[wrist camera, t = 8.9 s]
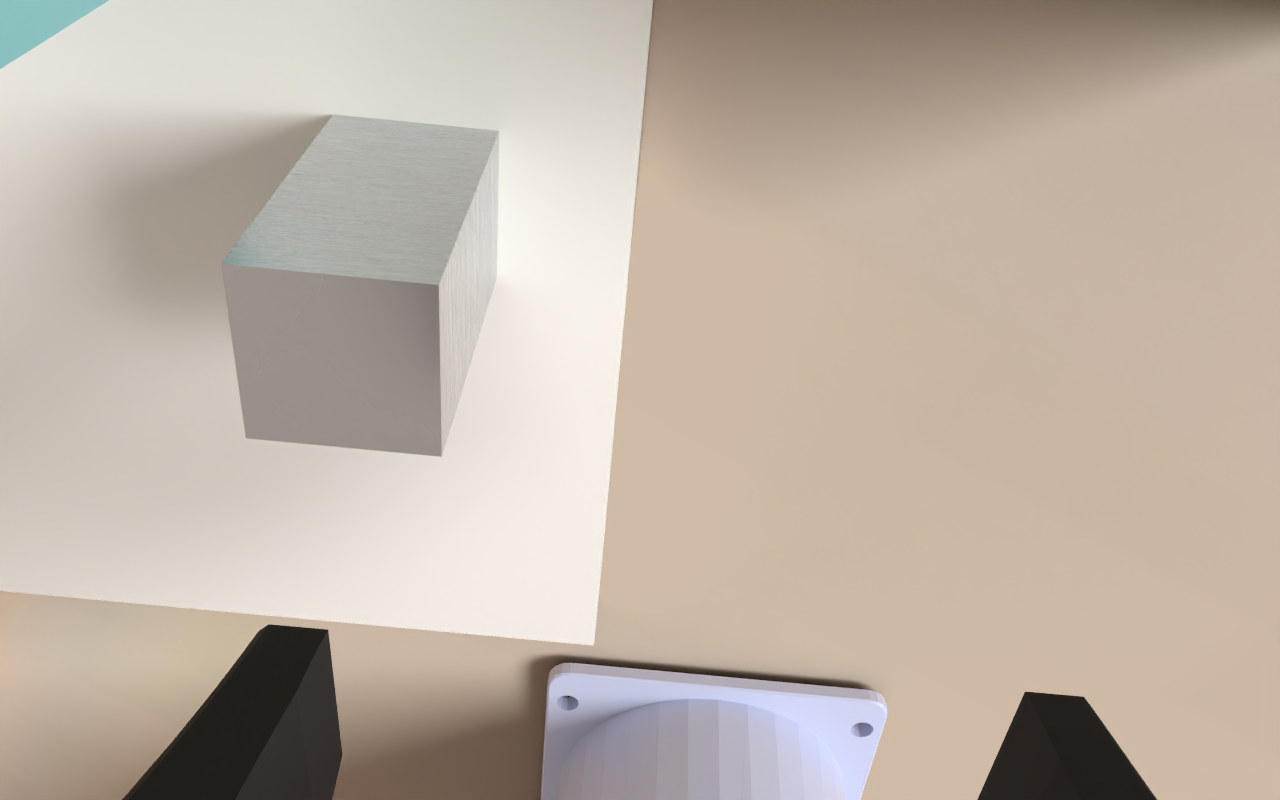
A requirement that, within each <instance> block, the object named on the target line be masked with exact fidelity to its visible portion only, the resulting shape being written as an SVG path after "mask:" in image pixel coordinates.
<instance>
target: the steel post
mask: <svg viewBox="0 0 1280 800" xmlns="http://www.w3.org/2000/svg"><path fill="white" fill-rule="evenodd" d="M498 180H499V131H496V130H486V129H475V128H465V127H455V126H445V125H435V124H425V123H415V122H404V121H394V120H384V119H374V118H364V117H354V116H344V115H332V117H331V118H330V119H329V121H328V122H327V123H326V125H325V126H324V127H323V129H322V130H321V131H320V133H319V134H318V135H317V137H316V138H315V139H314V141H313V142H312V143H311V145H310V146H309V147H308V149H307V150H306V151H305V153H304V154H303V155H302V157H301V158H300V159H299V161H298V162H297V163H296V165H295V166H294V167H293V169H292V170H291V171H290V173H289V174H288V175H287V177H286V178H285V179H284V181H283V182H282V183H281V185H280V186H279V187H278V189H277V190H276V191H275V193H274V194H273V195H272V197H271V198H270V199H269V201H268V202H267V203H266V205H265V206H264V207H263V209H262V210H261V211H260V213H259V214H258V215H257V217H256V218H255V219H254V221H253V222H252V223H251V225H250V226H249V227H248V229H247V230H246V231H245V233H244V234H243V235H242V237H241V238H240V239H239V241H238V242H237V243H236V245H235V246H234V247H233V249H232V250H231V251H230V253H229V254H228V255H227V257H226V258H225V259H224V261H223V262H222V263H221V267H222V274H223V281H224V288H225V295H226V302H227V309H228V316H229V323H230V330H231V337H232V345H233V352H234V359H235V366H236V373H237V380H238V387H239V394H240V401H241V408H242V415H243V422H244V429H245V436H246V438H248V439H258V440H269V441H280V442H290V443H301V444H311V445H322V446H333V447H343V448H354V449H365V450H375V451H386V452H397V453H407V454H418V455H429V456H439V457H442V455H443V451H444V448H445V445H446V442H447V438H448V435H449V432H450V429H451V425H452V422H453V419H454V416H455V412H456V409H457V406H458V403H459V399H460V396H461V393H462V390H463V386H464V383H465V380H466V377H467V373H468V370H469V367H470V364H471V360H472V357H473V354H474V350H475V347H476V344H477V341H478V337H479V334H480V331H481V328H482V324H483V321H484V318H485V315H486V311H487V308H488V305H489V302H490V298H491V295H492V292H493V289H494V285H495V282H496V279H497V243H498Z"/></svg>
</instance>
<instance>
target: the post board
mask: <svg viewBox="0 0 1280 800" xmlns="http://www.w3.org/2000/svg"><path fill="white" fill-rule="evenodd" d="M652 8H653V0H109V1H107V2H106V3H104V4H103V5H101V6H100V7H98V8H96V9H95V10H93V11H92V12H90V13H88V14H87V15H85V16H84V17H82V18H81V19H79V20H77V21H76V22H74V23H73V24H71V25H69V26H68V27H66V28H65V29H63V30H62V31H60V32H58V33H57V34H55V35H54V36H52V37H50V38H49V39H47V40H46V41H44V42H42V43H41V44H39V45H38V46H36V47H35V48H33V49H31V50H30V51H28V52H27V53H25V54H23V55H22V56H20V57H19V58H17V59H16V60H14V61H12V62H11V63H9V64H8V65H6V66H4V67H3V68H1V69H0V591H6V592H17V593H27V594H38V595H49V596H60V597H71V598H82V599H93V600H104V601H115V602H126V603H137V604H148V605H159V606H170V607H180V608H191V609H202V610H213V611H224V612H235V613H246V614H257V615H268V616H279V617H290V618H301V619H312V620H322V621H333V622H344V623H355V624H366V625H377V626H388V627H399V628H410V629H421V630H432V631H443V632H454V633H464V634H475V635H486V636H497V637H508V638H519V639H530V640H541V641H552V642H563V643H574V644H585V645H594V638H595V628H596V618H597V608H598V598H599V587H600V577H601V566H602V555H603V544H604V533H605V522H606V511H607V500H608V489H609V478H610V467H611V456H612V445H613V434H614V423H615V412H616V401H617V391H618V380H619V369H620V358H621V347H622V336H623V325H624V314H625V303H626V292H627V281H628V270H629V259H630V248H631V237H632V226H633V216H634V205H635V194H636V183H637V172H638V161H639V150H640V139H641V128H642V117H643V106H644V95H645V84H646V73H647V62H648V51H649V40H650V30H651V19H652ZM332 115H344V116H354V117H364V118H374V119H384V120H394V121H404V122H415V123H425V124H435V125H445V126H455V127H465V128H475V129H486V130H496V131H499V180H498V243H497V279H496V282H495V285H494V289H493V292H492V295H491V298H490V302H489V305H488V308H487V311H486V315H485V318H484V321H483V324H482V328H481V331H480V334H479V337H478V341H477V344H476V347H475V350H474V354H473V357H472V360H471V364H470V367H469V370H468V373H467V377H466V380H465V383H464V386H463V390H462V393H461V396H460V399H459V403H458V406H457V409H456V412H455V416H454V419H453V422H452V425H451V429H450V432H449V435H448V438H447V442H446V445H445V448H444V451H443V455H442V457H439V456H429V455H418V454H407V453H397V452H386V451H375V450H365V449H354V448H343V447H333V446H322V445H311V444H301V443H290V442H280V441H269V440H258V439H248V438H246V436H245V429H244V422H243V415H242V408H241V401H240V394H239V387H238V380H237V373H236V366H235V359H234V352H233V345H232V337H231V330H230V323H229V316H228V309H227V302H226V295H225V288H224V281H223V274H222V267H221V263H222V262H223V261H224V259H225V258H226V257H227V255H228V254H229V253H230V251H231V250H232V249H233V247H234V246H235V245H236V243H237V242H238V241H239V239H240V238H241V237H242V235H243V234H244V233H245V231H246V230H247V229H248V227H249V226H250V225H251V223H252V222H253V221H254V219H255V218H256V217H257V215H258V214H259V213H260V211H261V210H262V209H263V207H264V206H265V205H266V203H267V202H268V201H269V199H270V198H271V197H272V195H273V194H274V193H275V191H276V190H277V189H278V187H279V186H280V185H281V183H282V182H283V181H284V179H285V178H286V177H287V175H288V174H289V173H290V171H291V170H292V169H293V167H294V166H295V165H296V163H297V162H298V161H299V159H300V158H301V157H302V155H303V154H304V153H305V151H306V150H307V149H308V147H309V146H310V145H311V143H312V142H313V141H314V139H315V138H316V137H317V135H318V134H319V133H320V131H321V130H322V129H323V127H324V126H325V125H326V123H327V122H328V121H329V119H330V118H331V117H332Z"/></svg>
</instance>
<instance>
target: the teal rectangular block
mask: <svg viewBox="0 0 1280 800" xmlns="http://www.w3.org/2000/svg"><path fill="white" fill-rule="evenodd" d="M107 1H109V0H0V69H1V68H3V67H4V66H6V65H8V64H9V63H11V62H12V61H14V60H16V59H17V58H19V57H20V56H22V55H23V54H25V53H27V52H28V51H30V50H31V49H33V48H35V47H36V46H38V45H39V44H41V43H42V42H44V41H46V40H47V39H49V38H50V37H52V36H54V35H55V34H57V33H58V32H60V31H62V30H63V29H65V28H66V27H68V26H69V25H71V24H73V23H74V22H76V21H77V20H79V19H81V18H82V17H84V16H85V15H87V14H88V13H90V12H92V11H93V10H95V9H96V8H98V7H100V6H101V5H103V4H104V3H106V2H107Z"/></svg>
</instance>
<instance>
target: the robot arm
mask: <svg viewBox="0 0 1280 800" xmlns="http://www.w3.org/2000/svg"><path fill="white" fill-rule="evenodd" d="M565 696H572V697H569V698H568V697H565ZM886 718H887V706H886V701H885V699H884V697H883V696H882V695H881V694H879V693H878V692H875V691H871V690H865V689H854V688H843V687H832V686H821V685H810V684H799V683H788V682H777V681H766V680H755V679H744V678H733V677H722V676H711V675H701V674H690V673H679V672H668V671H657V670H646V669H635V668H624V667H613V666H602V665H591V664H580V663H562V664H559V665H556V666H555V667H554V668H553V669H551V671H550V673H549V678H548V685H547V701H546V718H545V735H544V752H543V769H542V786H541V800H860V799H861V796H862V793H863V790H864V786H865V783H866V780H867V777H868V774H869V771H870V768H871V765H872V762H873V759H874V755H875V752H876V749H877V746H878V743H879V740H880V737H881V734H882V731H883V728H884V724H885V721H886ZM863 722H865V723H863ZM857 723H861V724H857ZM341 758H342V748H341V740H340V731H339V722H338V713H337V704H336V696H335V687H334V678H333V669H332V661H331V652H330V643H329V634H328V630H325V629H314V628H302V627H291V626H280V625H267V626H266V627H264V628H263V629H261V630H260V631H259V632H258V633H257V634H256V636H255V637H254V638H253V640H252V641H251V642H250V644H249V645H248V646H247V648H246V649H245V651H244V652H243V653H242V655H241V656H240V657H239V659H238V660H237V661H236V662H235V664H234V665H233V666H232V668H231V669H230V670H229V672H228V673H227V674H226V676H225V677H224V678H223V679H222V681H221V682H220V683H219V685H218V686H217V687H216V688H215V690H214V691H213V692H212V693H211V695H210V696H209V697H208V699H207V700H206V701H205V702H204V704H203V705H202V706H201V707H200V709H199V710H198V711H197V712H196V713H195V715H194V716H193V717H192V718H191V720H190V721H189V722H188V723H187V725H186V726H185V727H184V728H183V729H182V731H181V732H180V733H179V734H178V736H177V737H176V738H175V739H174V740H173V742H172V743H171V744H170V745H169V746H168V747H167V749H166V750H165V751H164V752H163V753H162V754H161V756H160V757H159V758H158V759H157V760H156V761H155V762H154V764H153V765H152V766H151V767H150V768H149V769H148V771H147V772H146V773H145V774H144V775H143V776H142V778H141V779H140V780H139V781H138V782H137V783H136V785H135V786H134V787H133V788H132V789H131V790H130V791H129V793H128V794H127V795H126V796H125V797H124V798H123V800H332V797H333V793H334V788H335V784H336V780H337V775H338V771H339V766H340V762H341ZM978 800H1157V799H1156V797H1155V796H1154V795H1153V793H1152V792H1151V790H1150V789H1149V788H1148V786H1147V785H1146V783H1145V782H1144V781H1143V779H1142V778H1141V776H1140V775H1139V774H1138V772H1137V771H1136V769H1135V768H1134V766H1133V765H1132V764H1131V762H1130V761H1129V759H1128V758H1127V757H1126V755H1125V754H1124V752H1123V751H1122V749H1121V748H1120V747H1119V745H1118V744H1117V742H1116V741H1115V740H1114V738H1113V737H1112V735H1111V734H1110V732H1109V731H1108V730H1107V728H1106V727H1105V725H1104V724H1103V723H1102V721H1101V720H1100V718H1099V717H1098V716H1097V714H1096V713H1095V711H1094V710H1093V709H1092V707H1091V706H1090V704H1089V703H1088V702H1087V701H1086V699H1085V698H1084V697H1079V696H1068V695H1056V694H1045V693H1034V692H1025V693H1024V696H1023V698H1022V700H1021V702H1020V705H1019V707H1018V709H1017V712H1016V714H1015V716H1014V718H1013V721H1012V723H1011V725H1010V727H1009V730H1008V732H1007V734H1006V736H1005V739H1004V741H1003V743H1002V745H1001V748H1000V750H999V752H998V755H997V757H996V759H995V761H994V764H993V766H992V768H991V770H990V773H989V775H988V777H987V779H986V782H985V784H984V786H983V789H982V791H981V793H980V795H979V798H978Z"/></svg>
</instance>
